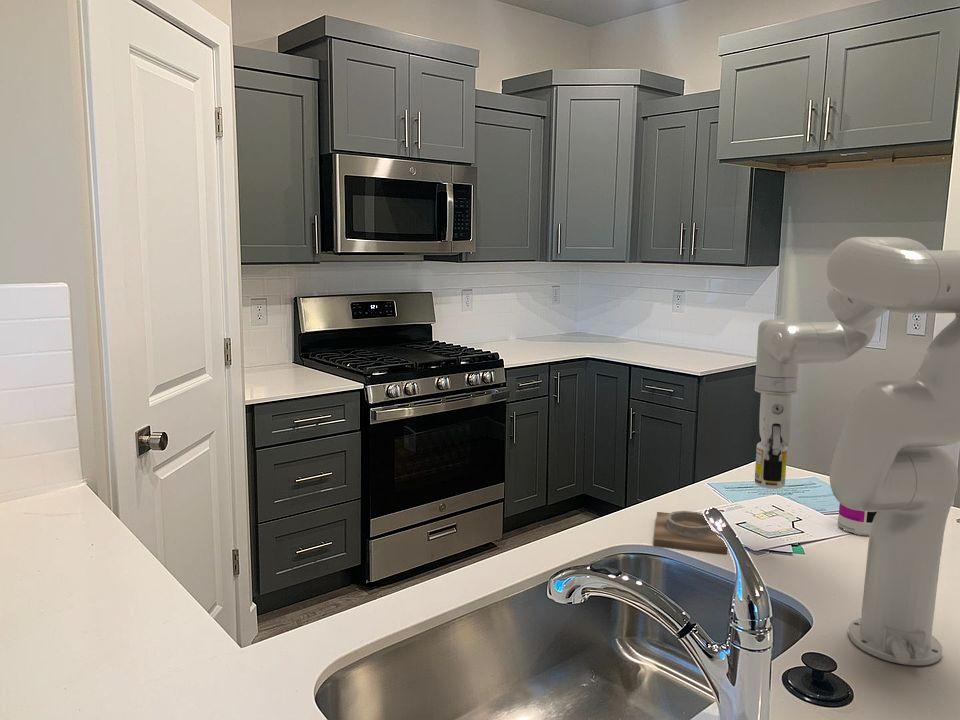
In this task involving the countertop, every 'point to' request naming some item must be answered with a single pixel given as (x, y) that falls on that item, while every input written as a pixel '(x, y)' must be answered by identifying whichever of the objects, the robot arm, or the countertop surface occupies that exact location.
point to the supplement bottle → (760, 466)
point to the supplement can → (855, 520)
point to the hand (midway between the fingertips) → (770, 475)
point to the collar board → (686, 532)
